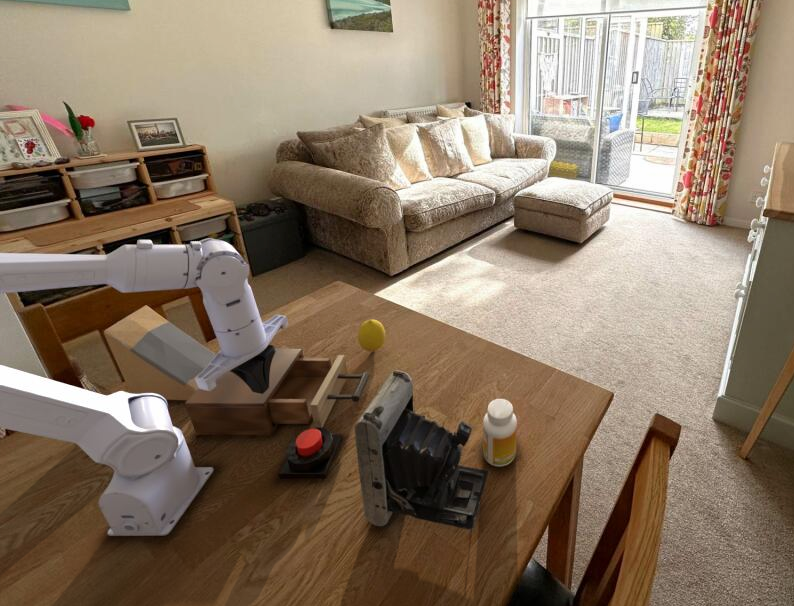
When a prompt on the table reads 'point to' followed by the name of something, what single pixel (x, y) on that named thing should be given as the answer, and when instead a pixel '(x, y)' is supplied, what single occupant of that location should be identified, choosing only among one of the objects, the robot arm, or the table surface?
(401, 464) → the vintage camera
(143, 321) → the sandwich container
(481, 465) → the table surface
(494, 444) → the supplement bottle
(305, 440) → the release button
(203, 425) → the wooden drawer cabinet
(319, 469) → the black button housing
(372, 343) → the lemon
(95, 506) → the table surface
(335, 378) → the wooden drawer
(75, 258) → the robot arm
